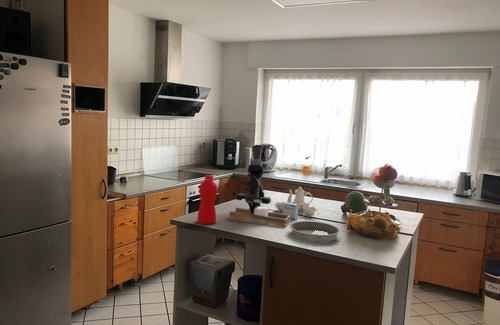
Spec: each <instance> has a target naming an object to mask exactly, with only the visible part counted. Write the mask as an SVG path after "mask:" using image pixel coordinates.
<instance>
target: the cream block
mask: <svg viewBox="0 0 500 325" xmlns="http://www.w3.org/2000/svg"><path fill="white" fill-rule="evenodd" d="M268 212H269V208H268V207H265V206H264V207H263V206H260V207H257V208H255V212H254V215H260V216H267V217H268Z"/></svg>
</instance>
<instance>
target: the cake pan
mask: <svg viewBox="0 0 500 325" xmlns="http://www.w3.org/2000/svg"><path fill="white" fill-rule="evenodd" d="M289 228H290V230H291V232H292V236H293V237H294V236H295V237H294V238H296V239H298V238H299V239H298V240H301V241H304V240H305V241H306V242H309V243H316V242H327V243H332V242H334V240H335V239H337V237H338V234H340V232H341V230H340V228H339V227H337V226H335V225H333V224H329V223H325V222H321V221H313V220H312V221H311V220H303V221H295V222H292V223H289ZM315 230H316V231H317V230H318V231H324V232H327V233H328V235H318V234H312V233H313V232H314V231H315ZM331 241H332V242H331ZM335 241H336V240H335Z"/></svg>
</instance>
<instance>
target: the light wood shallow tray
mask: <svg viewBox="0 0 500 325" xmlns="http://www.w3.org/2000/svg"><path fill="white" fill-rule="evenodd" d="M254 212H255V211H254ZM228 213H229V214H228V217H227V218H228V220H230V221H236V222H237V221H238V222H243V223H244V222H245V223H251V224H257V225H262V226H271V227H277V228H282V229H284V228H285V229H286V228H287V227H288V226H289V225H290V224H291V222H292V220H291V215H285V214H283V213H279V212H278V213H276V212H269V211H268V217H267V216H260V215H254V213H253V214H251V211H250V209H247V208H242V207H236V208H235V211H233V210H232V211H231V210H229V212H228Z"/></svg>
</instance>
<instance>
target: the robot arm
mask: <svg viewBox="0 0 500 325" xmlns="http://www.w3.org/2000/svg"><path fill="white" fill-rule="evenodd" d="M251 147H252V148H251V152H252V155H253V158H252V160H251V161H250V162H249V165H248V169H247V175H246V176H247V177H249V179H248V180H247V186H248V189H247V192H246V193H240V192H239V193H238V194H236V195H235V200H236V201H242V200H244V201H245V203H246V204H247V205H248V206H249V209H250V211H251V214H253V213H254V211H255V208H257V207H261V204H263V205H264V204H265V205H269V204H271V202H272V200H271V197H269V196H265V192H264V190H263V186H262V183H261V178H262V176H264V166H262V163H263V159H264V158H265V156H266V154H267V146H265V145H262V144H254V145H252V146H251Z"/></svg>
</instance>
